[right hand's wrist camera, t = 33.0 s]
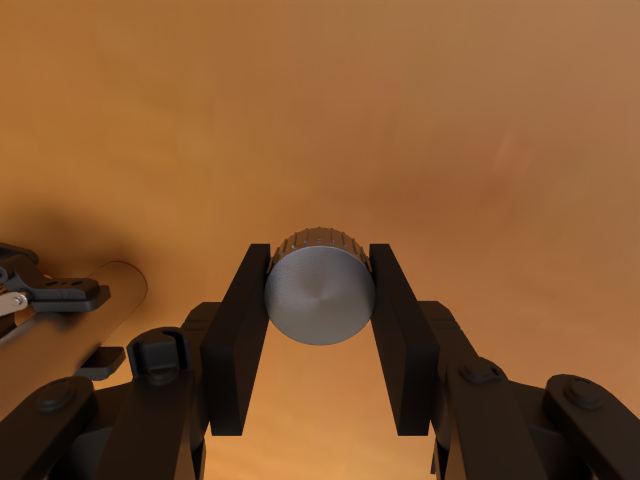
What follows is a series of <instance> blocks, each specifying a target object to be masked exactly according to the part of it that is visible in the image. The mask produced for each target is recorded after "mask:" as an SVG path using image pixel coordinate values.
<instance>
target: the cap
mask: <svg viewBox="0 0 640 480" xmlns="http://www.w3.org/2000/svg"><path fill="white" fill-rule="evenodd" d="M372 273H373V270H372V267H371V264H370V261H369V258H368V256H366V255H365V253H364V250H363V247H362V246H361V247H360V246H359V244H358V243H357V242H356V241H355V239H354V238H353V239H352V238H351V237H349V236H348V235H346V234H345V233H344V232H339V231H337V230H333V228H331V229H328V228H321V227H318V228H311V229H308V228H307V229H306V230H303V231H300V232H298V233H296V232H295V233H294V235H292V236H290V237H289V238H288V239H285V240H284V242H283V243H282V244H281V245H280V247H277V248H276V252H275V254H274V256H273V257H271V260H270V263H269V266H268V269H267V272H266V274H268V275H267V278H266V281H265V285H264V304H265V309H266V312H267V314H268V316H269V318H270V320H271V321H272V323H273V324H274V325H275V326H276V327H277V328H278V330H280V331H281V332H282V333H283V334H285V335H286V336H288V337H289V338H291V339H293V340H295V341H298V342H301V343H305V344H309V345H330V344H335V343H339V342H342V341H344V340H346V339H348V338H350V337H352V336H354V335H355V334H356V333H358V332H359V331H360V330H361V329H362V328H363V327H364V326H365V325H366V324H367V322H368V321H369V319H370V318H371V316H372V314H373V311H374V309H375V300H376V286H375V282H374V279H373V275H372Z"/></svg>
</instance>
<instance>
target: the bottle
mask: <svg viewBox="0 0 640 480" xmlns="http://www.w3.org/2000/svg"><path fill="white" fill-rule="evenodd" d="M87 278H90V279H93V280H97V281H98V283H99V285H108V286H109V288H110V292H111V298H110V299H108V300H107V301H106V302H105V303H104V304H103V305H102V306H101V307H99V308H98V309H96V310H94V311H90V312H38V313H36V314H35V315H34V316H32V317H31V318H29V319H28V320H27V321H25V322H24V323H22V324H21V325H20V326H18V327H17V328H15V329H14V330H13V331H11V332H10V333H8V334H7V335H6V336H4V337H3V338H1V339H0V422H1V421H2V420H3V419H4V418H5V417H6V416H7V415H8V414H9V413H10V412H11V411H12V410H13V409H15V408H16V407H17V406H18V405H19V404H20V403H21V402H22V401H23V400H24V399H25V398H26V397H27V396H29V395H30V394H31V393H33V392H34V391H35V390H37V389H38V388H40V387H42V386H44V385H45V384H47V383H49V382H51V381H54V380H57V379H60V378H64V377H70V376H73V375H74V373H75V372H76V371H77V370H78V369H79V368H80V367H81V366H82V365H83V364H84V363H85V362H86V361H87V360H88V359H89V357H90V356H91V355H92V354H93V353H94V352H95V351H96V350H97V349H98V348H99V347H100V346H101V345H102V344H103V342H104V341H105V340H106V339H107V338H108V337H109V336H110V335H111V334H112V333H113V332H114V331H115V330H116V329H117V328H118V326H119V325H120V324H121V323H122V322H123V321H124V320H125V319H126V318H127V317H128V316H129V315H130V314H131V313H132V311H133V310H134V309H135V308H136V307H137V306H138V305H139V304H140V303H141V302H142V301H143V300H144V298H145V296H146V293H147V284H146V281H145V278H144V277H143V275H142V274H141V273H140V272H139V271H138V270H137V269H136V268H135V267H133V266H131V265H129V264H126V263H123V262H111V263H107V264H105V265H104V266H102V267H101V268H99V269H98V270H97V271H95V272H94V273H92V274H91V275H90V276H88V277H87Z"/></svg>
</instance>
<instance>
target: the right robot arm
mask: <svg viewBox="0 0 640 480" xmlns="http://www.w3.org/2000/svg"><path fill="white" fill-rule="evenodd" d="M270 260H271V254H270V244H251V245H250V247H249V249H248V251H247V253H246V255H245V257H244V259H243V261H242V263H241V265H240V267H239V269H238V271H237V273H236V275H235V277H234V279H233V281H232V283H231V285H230V287H229V289H228V291H227V293H226V295H225V297H224V299H223V301H222V302H202V303H201V304H200V305H198V306H197V307H195V308H194V309H193V310H191V312H190V313H189V315H188V316H187V318H186V320H185V322H184V323H183V324H182V326H181V327H180V328H178V327H161V328H156V329H152V330H149V331H147V332H144V333H142V334H140V335H139V336H137V337H136V338H134V339H133V340H132V341H131V342H130V343H129V344H128V346H127V347H126V349H127V353H128V357H129V362H130V366H131V370H132V375H133V379H132V381H131V382H128V383H125V384H122V385H118V386H113V387H109V388H104V389H100V390H95V389H94V386H93V382H92V381H91V380H90V379H88V378H87V377H82V376H70V377H64V378H60V379H57V380H54V381H51V382H49V383H47V384H45V385H44V386H42V387H40V388H38V389H37V390H35V391H34V392H33V393H31V394H30V395H29V396H27V397H26V398H25V399H24V400H23V401H22V402H21V403H20V404H19V405H18V406H17V407H16V408H15V409H13V410H12V411H11V412H10V413H9V414H8V415H7V416H6V417H5V418H4V419H3V420H2V421H1V422H0V480H203V478H204V468H205V459H206V446H205V439H204V435H205V432H206V430H207V427H208V424H209V421H210V426H211V433H212V436H242V432H243V428H244V424H245V419H246V415H247V411H248V407H249V403H250V398H251V394H252V390H253V386H254V381H255V377H256V373H257V369H258V365H259V360H260V356H261V352H262V348H263V344H264V339H265V335H266V331H267V327H268V323H269V316H268V314H267V312H266V309H265V304H264V285H265V281H266V278H267V275H268V274H266V272H267V269H268V266H269V263H270ZM369 261H370V264H371V267H372V270H373V273H372V275H373V279H374V282H375V286H376V300H375V309H374V311H373V314H372V316H371V318H370V319H371V324H372V328H373V332H374V336H375V340H376V345H377V349H378V353H379V357H380V361H381V366H382V370H383V374H384V378H385V382H386V387H387V391H388V395H389V399H390V404H391V408H392V412H393V416H394V420H395V425H396V429H397V433H398V436H428V431H429V424H430V420H431V423H432V426H433V428H434V431H435V434H436V439H435V446H434V452H433V459H432V465H431V473H430V474H435V472H436V477H437V480H640V420H639V419H638V418H637V417H636V416H635V415H634V414H633V413H632V412H631V411H630V410H629V409H628V408H627V407H625V406H624V405H623V404H622V403H621V402H620V401H619V400H618V399H617V398H616V397H615V396H614V395H613V394H611V393H610V392H609V391H607V390H606V389H605V388H603V387H602V386H600V385H598V384H596V383H594V382H592V381H590V380H588V379H585V378H581V377H578V376H575V375H566V374H560V375H555V376H552V377H551V378H550V379H549V380H548V381H547V384H546V388H545V389H543V388H538V387H534V386H529V385H525V384H520V383H517V382H513V381H510V380H508V378H507V376H506V375H505V373H504V372H503V370H502V369H501V368H499V367H498V366H497V365H496V364H494V363H493V362H491V361H489V360H487V359H485V358H482V357H479V356H478V355H477V353H476V352H475V350H474V348H473V347H472V345H471V344H470V342H469V340H468V339H467V337H466V336H465V334H464V333H463V331H462V330H460V326H459V325H458V323H457V322H456V321H455V318H454V317H453V315H452V314H451V312H450V311H449V309H447V308H446V307H445V306H443V305H442V304H440V303H439V302H438V301H417V299H416V297H415V295H414V293H413V291H412V289H411V287H410V285H409V283H408V281H407V279H406V277H405V275H404V273H403V271H402V269H401V267H400V265H399V263H398V261H397V259H396V257H395V255H394V253H393V251H392V249H391V247H390V245H389V244H370V250H369Z"/></svg>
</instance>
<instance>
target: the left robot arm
mask: <svg viewBox="0 0 640 480" xmlns="http://www.w3.org/2000/svg"><path fill="white" fill-rule="evenodd" d="M38 262H39V259H38V256H37V255H36V254H35V253H34V252H33V251H31V250H27V249H24V248H20V247H16V246H12V245H8V244H4V243H0V284H2V283H3V284H4V285H2V286H0V339H1V338H3V337H4V336H6V335H7V334H8V333H10V332H11V331H13V330H14V329H15V328H17V326H16V324H15V322H14V312H16V311H20V310H23V309H25V308H26V307H28V306H32V307H33V310H34V312H90V311H94V310H96V309H98V308H99V307H101V306H102V305H103V304H104V303H105V302H106V301H107V300H108V299H110V298H111V292H110V288H109V286H108V285H99V283H98V281H97V280H93V279H90V278H81V279H80V278H75V279H73V278H69V279H52V278H51V277H50V276H48V275H43V274H42V273H41V272H40V271H39V270H38V268H37V267H36V265H37V264H38ZM125 358H126V355H125V351H124V348H123V347H99V348H98V349H97V350H96V351H95V352H94V353H93V354H92V355H91V356H90V357H89V359H88V360H87V361H86V362H85V363H84V364H83V365H82V366H81V367H80V368H79V369H78V370H77V371H76V372H75V373H74V375H73V376H82V377H87V378H88V379H90V380H91V381H92V380H93V381H101V380H104V379H107V378H108V377H109V376H110V375H111V374H113V373H114V372H115V371H116V370H117V369H118V367H119V366H120V365H121V364H122V362H123V361H124V360H125Z"/></svg>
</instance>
